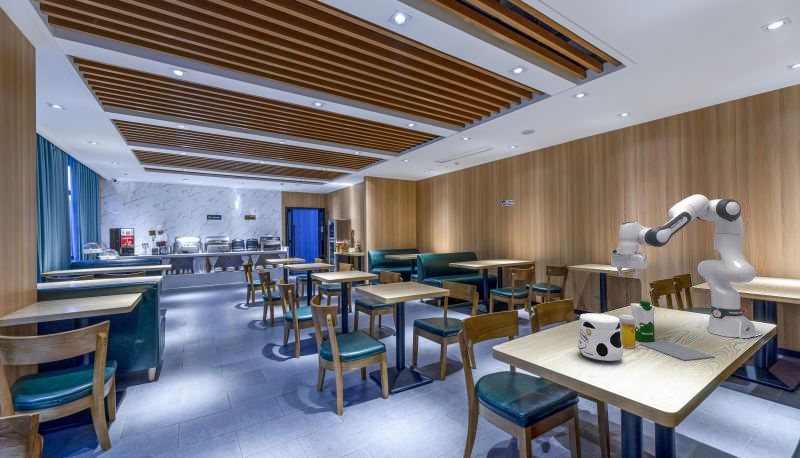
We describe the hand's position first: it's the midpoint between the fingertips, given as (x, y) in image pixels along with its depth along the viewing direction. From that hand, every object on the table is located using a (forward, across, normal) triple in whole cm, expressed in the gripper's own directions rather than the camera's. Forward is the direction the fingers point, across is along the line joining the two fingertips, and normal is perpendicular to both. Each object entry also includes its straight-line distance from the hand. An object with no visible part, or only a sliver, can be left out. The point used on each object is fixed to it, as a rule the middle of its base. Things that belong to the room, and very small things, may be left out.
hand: (628, 276), depth 184 cm
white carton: (+31, -9, 0) cm, 33 cm away
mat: (+31, -26, 0) cm, 40 cm away
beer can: (+32, -16, +16) cm, 39 cm away
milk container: (+33, -25, +39) cm, 57 cm away
